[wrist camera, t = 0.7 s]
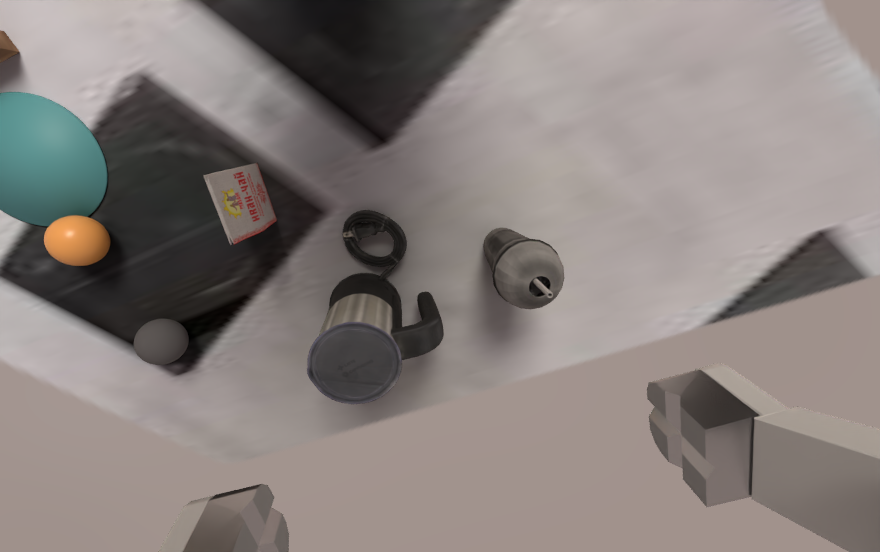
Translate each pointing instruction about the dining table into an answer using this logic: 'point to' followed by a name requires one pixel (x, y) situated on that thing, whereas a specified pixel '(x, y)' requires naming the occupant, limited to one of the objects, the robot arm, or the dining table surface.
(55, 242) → the orange ball
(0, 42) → the wall
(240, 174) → the white carton box
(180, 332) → the gray ball
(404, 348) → the milk frother
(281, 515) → the robot arm
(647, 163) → the dining table surface
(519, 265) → the beverage cup
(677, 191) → the dining table surface
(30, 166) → the teal ellipsoid
